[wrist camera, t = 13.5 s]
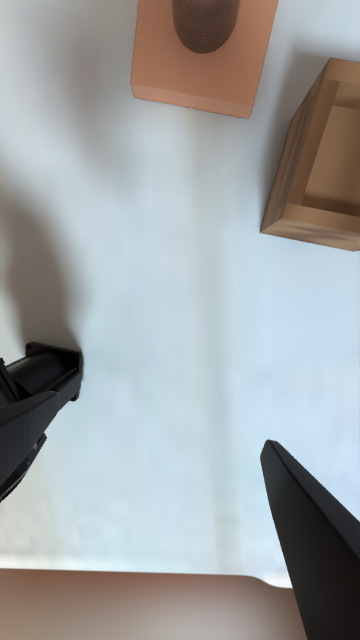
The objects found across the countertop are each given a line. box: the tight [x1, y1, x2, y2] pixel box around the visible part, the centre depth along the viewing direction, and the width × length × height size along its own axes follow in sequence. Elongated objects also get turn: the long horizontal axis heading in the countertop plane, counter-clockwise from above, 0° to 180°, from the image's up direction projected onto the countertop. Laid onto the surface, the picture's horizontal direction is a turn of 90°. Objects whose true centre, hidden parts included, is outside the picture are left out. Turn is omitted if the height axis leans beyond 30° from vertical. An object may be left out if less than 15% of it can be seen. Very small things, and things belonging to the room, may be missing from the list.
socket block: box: [260, 58, 360, 252], centre depth 14 cm, size 9×9×4 cm
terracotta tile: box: [130, 0, 278, 119], centre depth 14 cm, size 10×10×1 cm
